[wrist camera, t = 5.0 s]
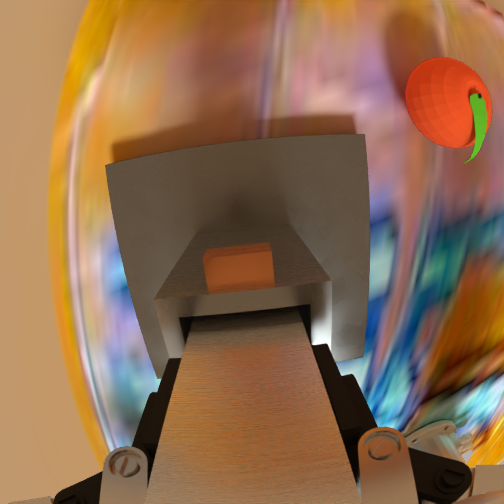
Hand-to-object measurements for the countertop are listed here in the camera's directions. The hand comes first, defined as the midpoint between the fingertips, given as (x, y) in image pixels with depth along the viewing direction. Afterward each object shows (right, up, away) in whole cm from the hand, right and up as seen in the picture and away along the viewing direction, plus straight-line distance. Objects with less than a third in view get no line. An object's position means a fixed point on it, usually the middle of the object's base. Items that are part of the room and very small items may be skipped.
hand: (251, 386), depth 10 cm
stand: (0, +4, +12) cm, 13 cm away
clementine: (+14, +16, +9) cm, 23 cm away
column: (0, +3, +10) cm, 11 cm away
